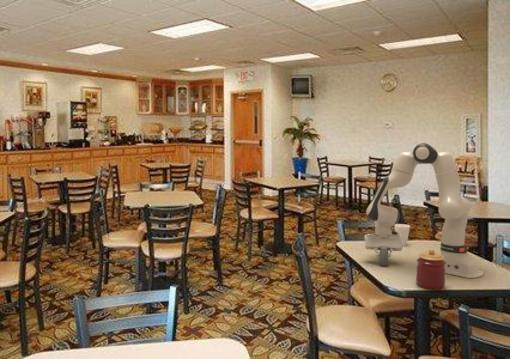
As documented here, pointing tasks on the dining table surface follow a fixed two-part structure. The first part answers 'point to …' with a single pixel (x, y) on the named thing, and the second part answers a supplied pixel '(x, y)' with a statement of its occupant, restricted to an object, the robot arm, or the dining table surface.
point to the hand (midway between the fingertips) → (383, 256)
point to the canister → (431, 270)
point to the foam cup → (403, 232)
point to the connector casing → (383, 255)
